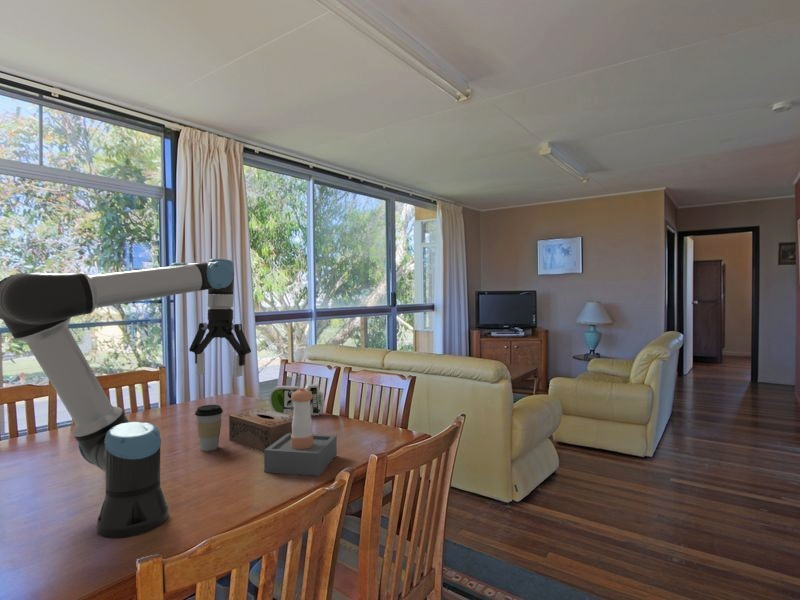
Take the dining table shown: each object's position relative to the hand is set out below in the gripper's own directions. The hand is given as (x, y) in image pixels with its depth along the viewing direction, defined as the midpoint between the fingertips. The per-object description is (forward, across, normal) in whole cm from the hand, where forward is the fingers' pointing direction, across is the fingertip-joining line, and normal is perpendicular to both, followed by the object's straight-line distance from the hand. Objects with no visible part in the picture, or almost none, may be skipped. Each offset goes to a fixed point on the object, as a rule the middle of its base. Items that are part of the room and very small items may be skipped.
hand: (219, 375), depth 143 cm
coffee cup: (+31, +16, -19) cm, 39 cm away
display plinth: (+30, -23, -12) cm, 40 cm away
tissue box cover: (+31, 0, -29) cm, 42 cm away
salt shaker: (+24, -23, -12) cm, 36 cm away
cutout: (+30, +4, -68) cm, 74 cm away
